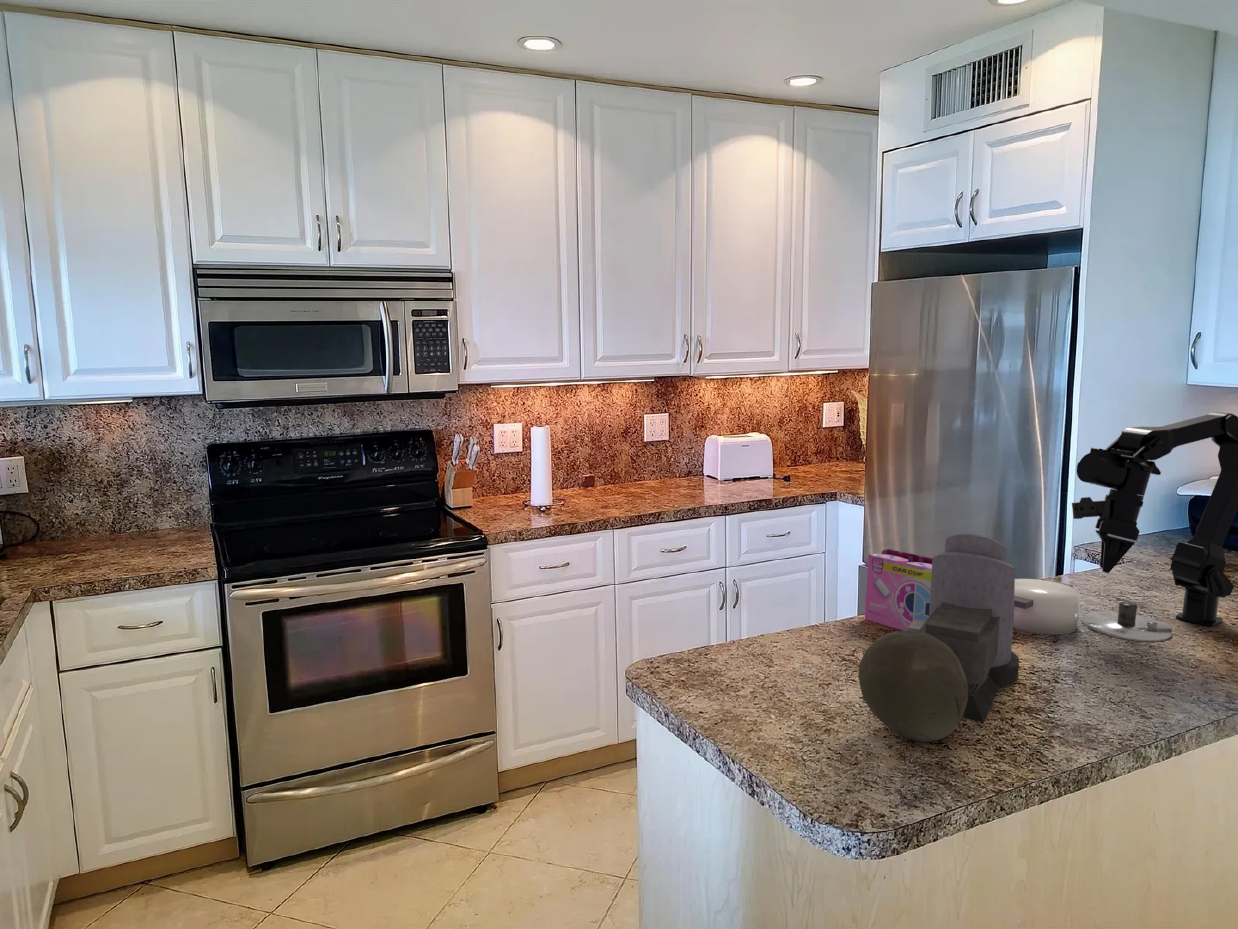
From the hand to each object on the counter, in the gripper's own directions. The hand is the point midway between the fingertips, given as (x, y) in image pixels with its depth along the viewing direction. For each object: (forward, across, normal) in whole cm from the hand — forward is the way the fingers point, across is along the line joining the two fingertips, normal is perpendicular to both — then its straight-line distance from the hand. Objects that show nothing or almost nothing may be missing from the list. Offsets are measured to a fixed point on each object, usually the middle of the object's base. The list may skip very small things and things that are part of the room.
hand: (1104, 570), depth 164 cm
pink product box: (+19, +16, -27) cm, 37 cm away
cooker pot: (+14, 0, -8) cm, 16 cm away
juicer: (+21, +38, -18) cm, 47 cm away
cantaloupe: (+26, +63, -21) cm, 72 cm away
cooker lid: (+10, -5, +7) cm, 13 cm away
